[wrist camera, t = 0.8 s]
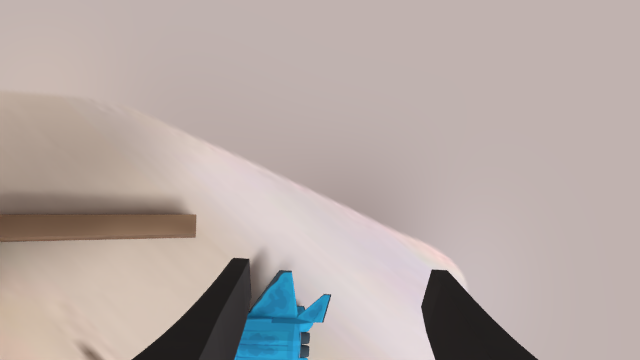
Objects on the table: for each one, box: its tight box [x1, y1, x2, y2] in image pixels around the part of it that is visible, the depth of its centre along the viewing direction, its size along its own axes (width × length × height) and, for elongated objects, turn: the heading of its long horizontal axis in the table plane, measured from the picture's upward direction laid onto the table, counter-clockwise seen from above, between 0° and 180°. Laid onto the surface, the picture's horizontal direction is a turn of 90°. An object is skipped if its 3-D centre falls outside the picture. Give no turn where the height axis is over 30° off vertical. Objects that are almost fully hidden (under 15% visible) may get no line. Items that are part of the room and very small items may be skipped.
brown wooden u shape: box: [0, 215, 196, 242], centre depth 22 cm, size 19×14×2 cm
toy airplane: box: [234, 270, 331, 360], centre depth 26 cm, size 12×10×4 cm
